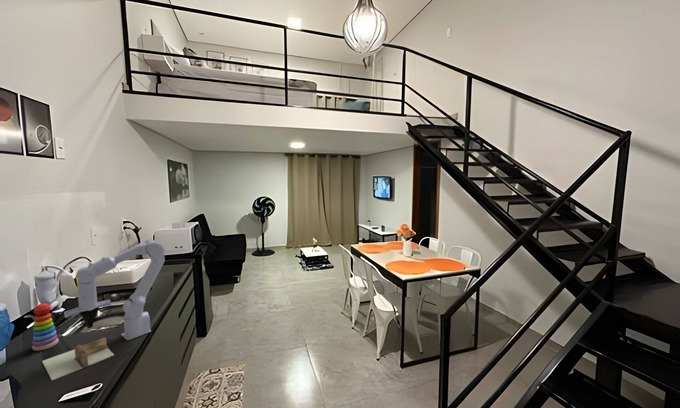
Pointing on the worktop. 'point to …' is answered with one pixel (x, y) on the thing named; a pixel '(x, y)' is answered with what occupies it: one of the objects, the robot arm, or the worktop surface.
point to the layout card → (72, 362)
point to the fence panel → (82, 356)
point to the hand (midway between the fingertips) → (89, 327)
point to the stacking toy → (43, 328)
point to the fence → (92, 347)
